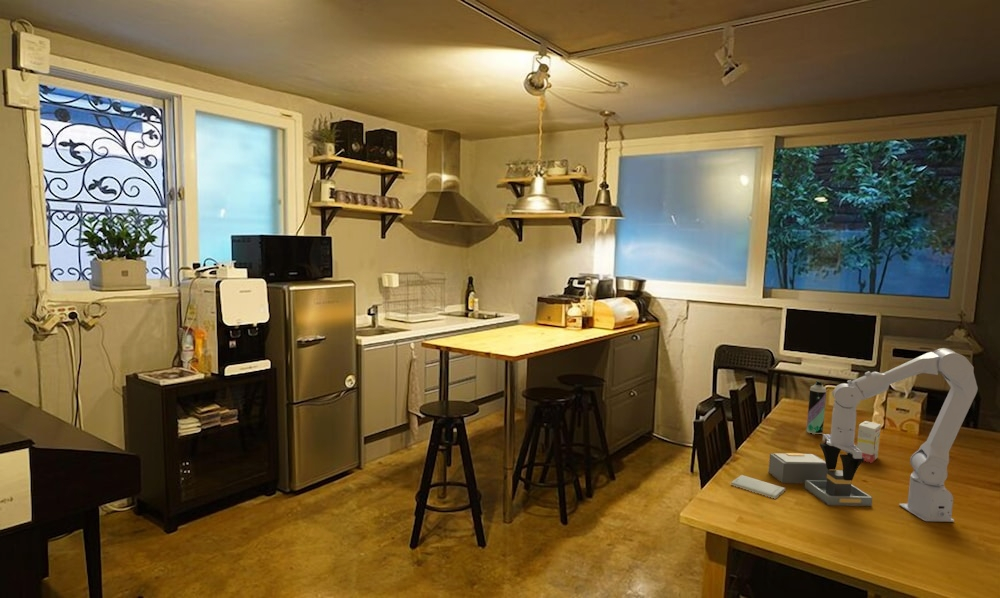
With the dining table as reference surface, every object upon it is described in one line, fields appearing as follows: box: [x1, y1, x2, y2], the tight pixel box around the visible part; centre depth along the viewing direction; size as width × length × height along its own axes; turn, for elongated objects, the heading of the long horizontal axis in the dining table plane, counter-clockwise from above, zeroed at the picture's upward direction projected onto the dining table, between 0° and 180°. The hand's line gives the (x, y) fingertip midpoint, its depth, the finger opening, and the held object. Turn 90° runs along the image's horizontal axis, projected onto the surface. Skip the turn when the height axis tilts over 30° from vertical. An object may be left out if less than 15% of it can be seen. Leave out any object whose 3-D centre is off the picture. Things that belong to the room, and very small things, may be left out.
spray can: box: [806, 380, 827, 435], centre depth 220 cm, size 6×6×20 cm
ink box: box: [856, 420, 882, 464], centre depth 193 cm, size 9×5×12 cm, turn 134°
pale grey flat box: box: [768, 452, 828, 484], centre depth 174 cm, size 8×14×6 cm, turn 92°
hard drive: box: [730, 474, 786, 500], centre depth 166 cm, size 2×8×12 cm
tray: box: [804, 480, 873, 507], centre depth 162 cm, size 11×12×2 cm
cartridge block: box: [826, 469, 853, 496], centre depth 161 cm, size 4×5×6 cm
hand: (839, 474), depth 161 cm, fingers open, 7 cm apart
